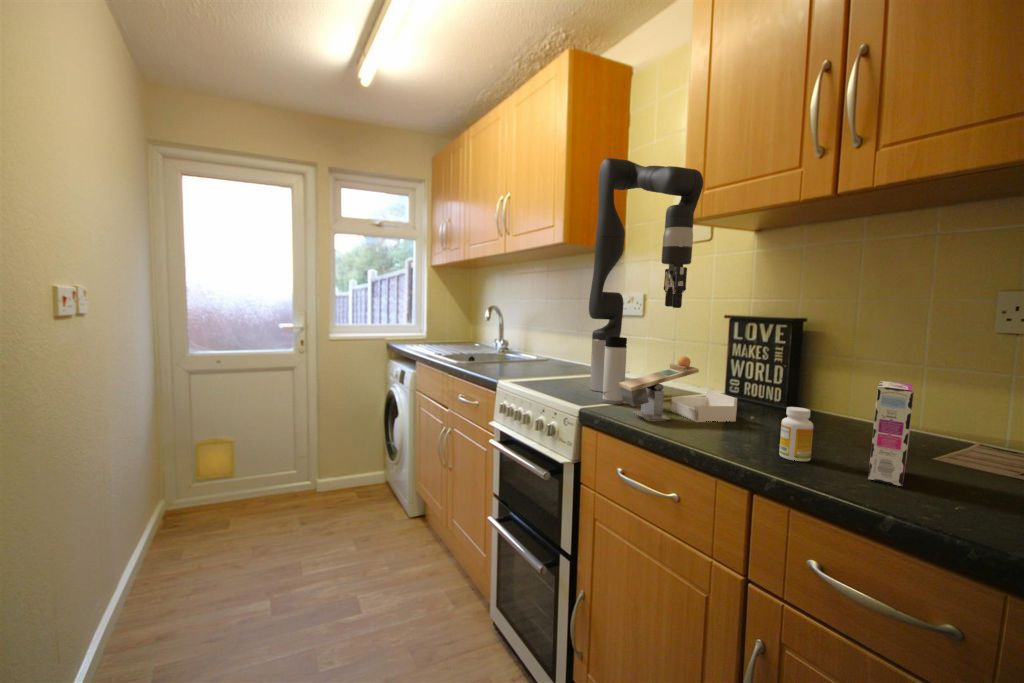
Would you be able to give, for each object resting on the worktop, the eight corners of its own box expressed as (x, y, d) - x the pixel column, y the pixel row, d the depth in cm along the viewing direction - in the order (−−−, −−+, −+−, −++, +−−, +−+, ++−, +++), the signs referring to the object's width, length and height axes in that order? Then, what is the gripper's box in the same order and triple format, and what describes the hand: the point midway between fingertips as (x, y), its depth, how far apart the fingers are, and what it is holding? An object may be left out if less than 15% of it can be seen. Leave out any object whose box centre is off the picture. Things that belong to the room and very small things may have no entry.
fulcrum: (632, 413, 128) (634, 378, 127) (653, 412, 129) (655, 378, 128) (648, 421, 119) (650, 384, 118) (670, 420, 120) (672, 384, 119)
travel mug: (601, 403, 139) (604, 335, 137) (603, 399, 145) (606, 334, 143) (622, 405, 137) (626, 336, 135) (624, 401, 143) (627, 335, 141)
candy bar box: (905, 488, 78) (915, 390, 77) (867, 480, 81) (876, 386, 80) (904, 471, 87) (913, 383, 85) (870, 465, 90) (878, 379, 89)
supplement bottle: (813, 458, 93) (817, 409, 92) (807, 464, 89) (811, 413, 88) (783, 451, 97) (786, 404, 96) (775, 457, 93) (779, 408, 92)
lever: (634, 406, 119) (629, 382, 118) (622, 400, 126) (618, 378, 125) (701, 387, 122) (697, 363, 121) (686, 382, 129) (682, 360, 128)
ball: (674, 367, 126) (675, 355, 125) (685, 367, 126) (686, 355, 126) (681, 369, 122) (682, 357, 122) (692, 369, 123) (693, 356, 123)
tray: (670, 411, 131) (671, 389, 131) (707, 410, 134) (709, 389, 133) (695, 422, 120) (697, 398, 119) (735, 421, 122) (737, 398, 121)
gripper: (657, 247, 133) (653, 305, 135) (668, 243, 119) (664, 307, 121) (684, 248, 132) (680, 306, 134) (699, 243, 118) (694, 308, 120)
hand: (672, 307), depth 127 cm, fingers open, 8 cm apart
